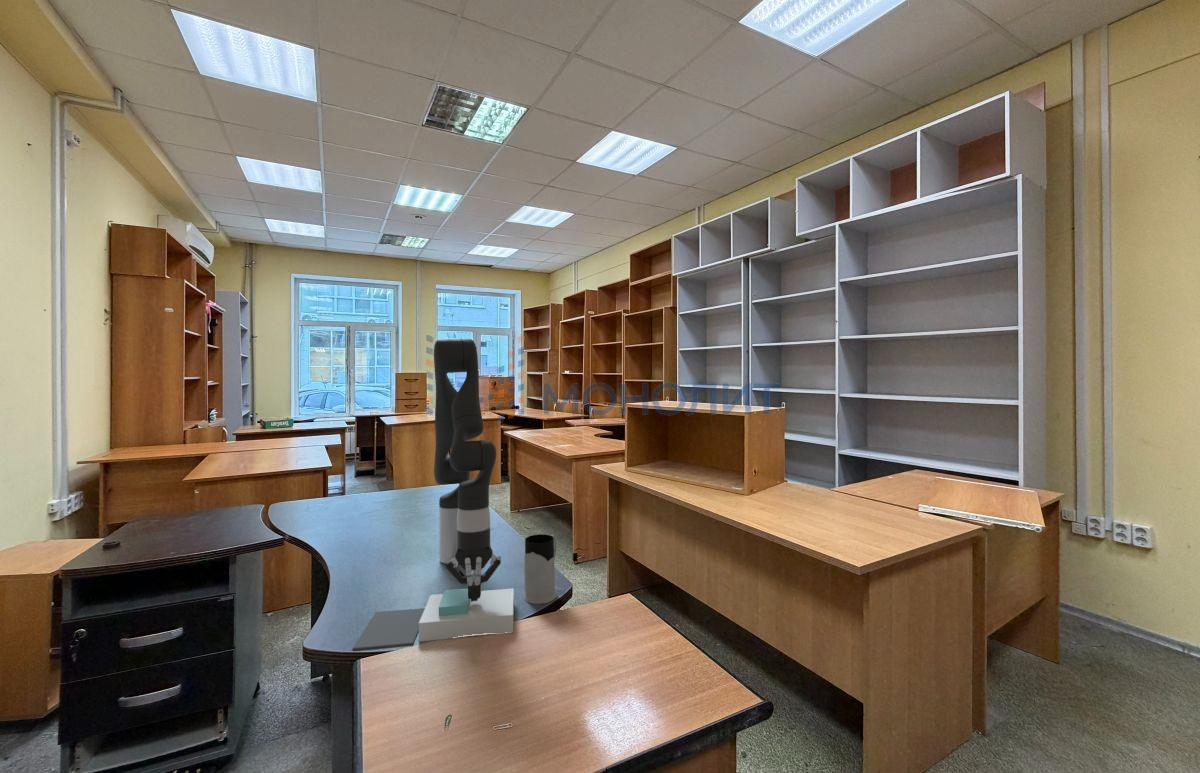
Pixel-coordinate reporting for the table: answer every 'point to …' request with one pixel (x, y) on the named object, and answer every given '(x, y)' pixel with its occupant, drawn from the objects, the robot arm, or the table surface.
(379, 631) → the mat
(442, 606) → the teal rectangular box
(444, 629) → the plate
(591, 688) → the table surface
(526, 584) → the glass holder
